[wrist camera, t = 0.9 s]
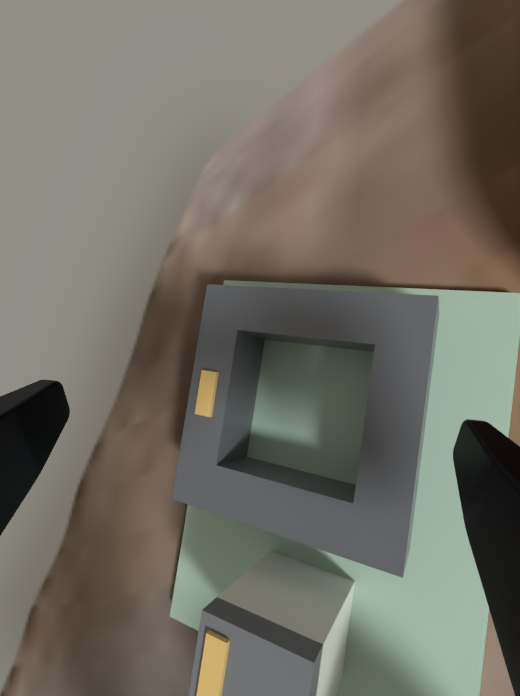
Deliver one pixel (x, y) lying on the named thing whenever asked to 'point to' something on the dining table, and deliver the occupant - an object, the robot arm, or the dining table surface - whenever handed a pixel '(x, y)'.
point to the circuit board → (342, 464)
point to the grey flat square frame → (378, 433)
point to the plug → (274, 633)
